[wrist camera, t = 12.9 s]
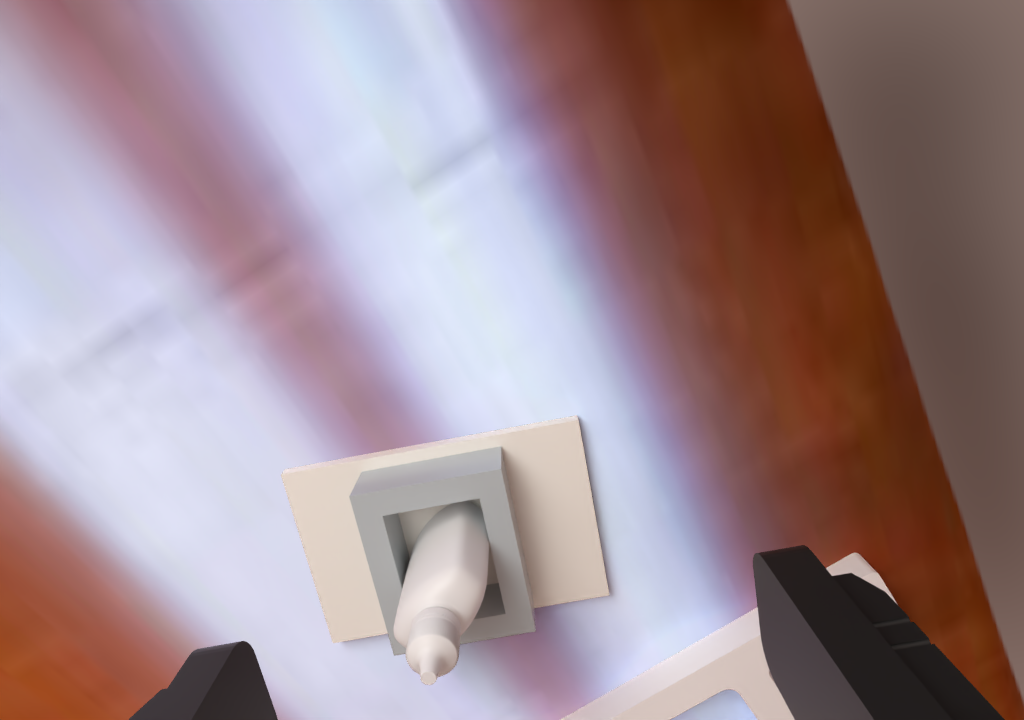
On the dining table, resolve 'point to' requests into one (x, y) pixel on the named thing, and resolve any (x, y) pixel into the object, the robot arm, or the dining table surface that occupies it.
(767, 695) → the holder
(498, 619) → the holder stand
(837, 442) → the dining table surface
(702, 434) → the dining table surface
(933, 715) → the robot arm
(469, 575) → the eye dropper bottle
